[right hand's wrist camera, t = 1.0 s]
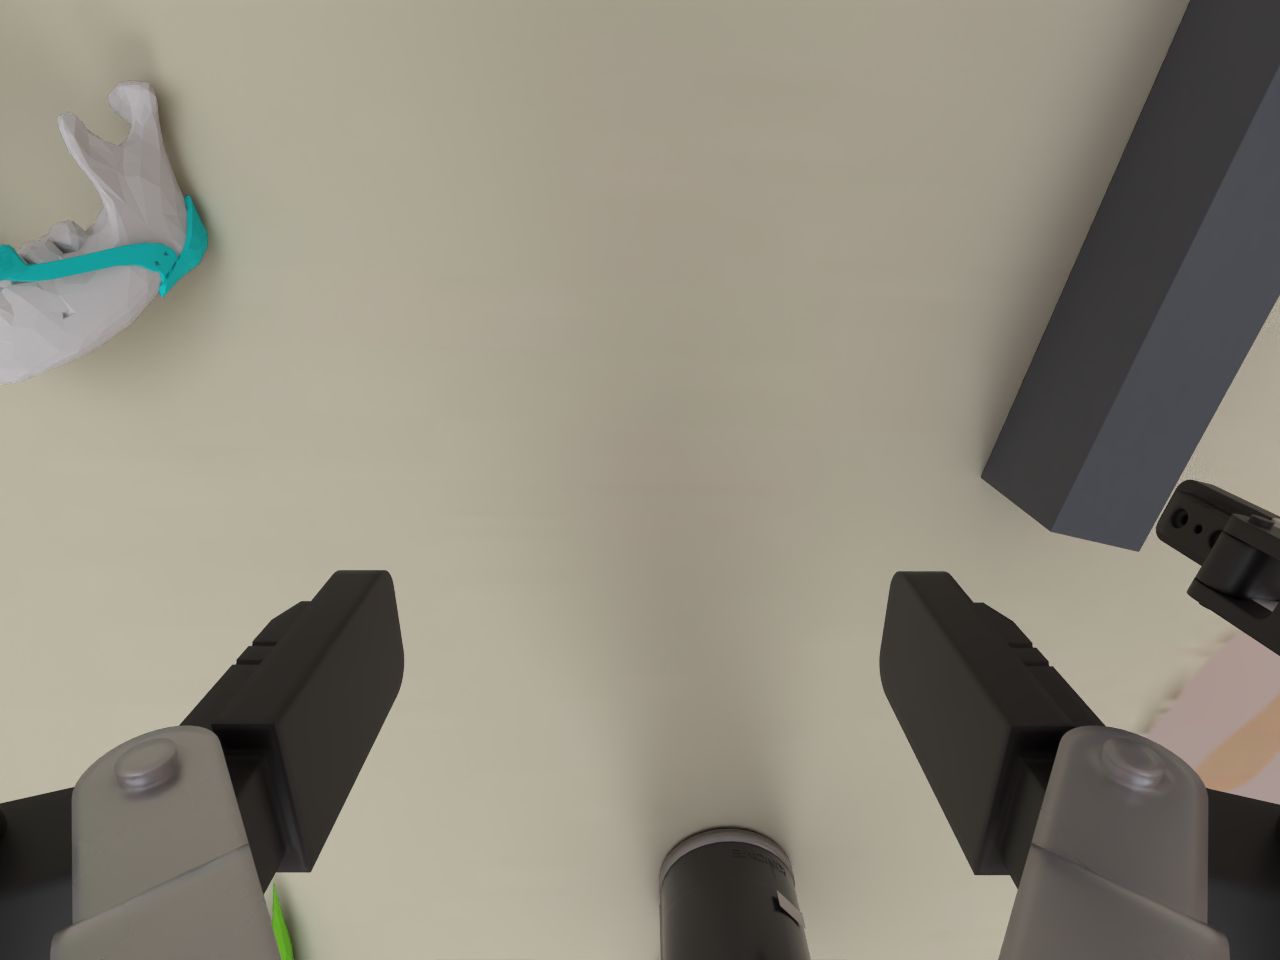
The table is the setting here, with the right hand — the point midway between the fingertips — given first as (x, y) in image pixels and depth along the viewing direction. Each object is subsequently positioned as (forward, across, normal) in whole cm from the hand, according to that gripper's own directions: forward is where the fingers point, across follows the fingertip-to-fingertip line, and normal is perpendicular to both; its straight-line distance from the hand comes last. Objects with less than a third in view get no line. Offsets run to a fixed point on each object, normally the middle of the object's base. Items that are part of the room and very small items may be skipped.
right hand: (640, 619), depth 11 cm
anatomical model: (+27, +28, -4) cm, 39 cm away
